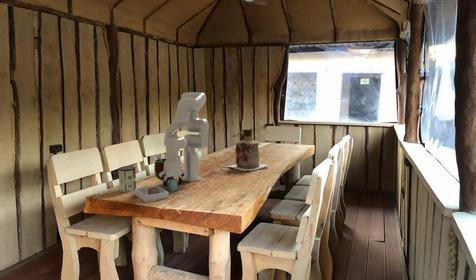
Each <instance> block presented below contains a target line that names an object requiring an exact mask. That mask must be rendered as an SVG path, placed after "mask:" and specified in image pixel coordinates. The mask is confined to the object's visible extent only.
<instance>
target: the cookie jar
mask: <svg viewBox="0 0 476 280" xmlns="http://www.w3.org/2000/svg"><path fill="white" fill-rule="evenodd" d="M238 135H239V137H240V140H238V141H237V142H236V143H235V149H234V151H235V152H234V153H235V164H234V165H227V166H226V167H227V168H232V169H235V170H239V171H243V172H245V171H250V172H253V171H256V170H261V169H268V167H269V165H268V164H260V152H259V144H260V142H259V141H257V140H254V139H253V138H252V137H253V128H249V129H247V128H246V129H245V128H244V129H242V131H240V132H239V134H238Z"/></svg>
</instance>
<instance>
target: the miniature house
mask: <svg viewBox="0 0 476 280" xmlns="http://www.w3.org/2000/svg"><path fill="white" fill-rule="evenodd" d="M136 168H137V167H136V166H132V165H128V166H126V165H125V166H120V167H118V168H117V169H118V181H119V191H120V192H122V193H129V192H130V193H131V192H135V190H134V189H137V174H136V172H137V171H136Z"/></svg>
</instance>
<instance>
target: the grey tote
mask: <svg viewBox="0 0 476 280" xmlns="http://www.w3.org/2000/svg"><path fill="white" fill-rule="evenodd" d="M153 187H157V188H159V189H160V193H157V194H151V195H148V188H153ZM134 190H135V191H134V195H135V197H137V198H139V199H140V200H141V201H143V202H144V203H148V202H153V201H160V200H165V199H169V198H170V197H169V196H170V195H169V193H170V191H167V190H165V189H162V188H160V187H159V186H156V185H152V186H144V187H138V188H137V187H136V189H134Z"/></svg>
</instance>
